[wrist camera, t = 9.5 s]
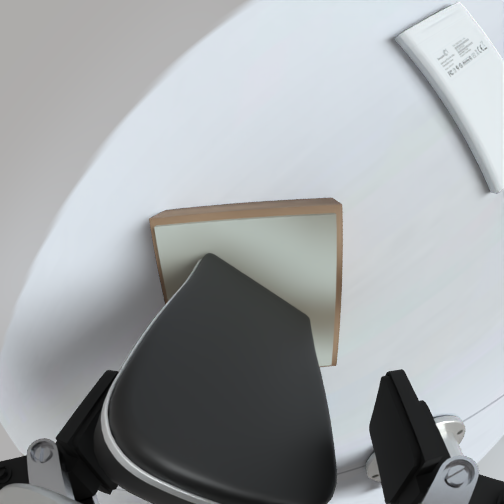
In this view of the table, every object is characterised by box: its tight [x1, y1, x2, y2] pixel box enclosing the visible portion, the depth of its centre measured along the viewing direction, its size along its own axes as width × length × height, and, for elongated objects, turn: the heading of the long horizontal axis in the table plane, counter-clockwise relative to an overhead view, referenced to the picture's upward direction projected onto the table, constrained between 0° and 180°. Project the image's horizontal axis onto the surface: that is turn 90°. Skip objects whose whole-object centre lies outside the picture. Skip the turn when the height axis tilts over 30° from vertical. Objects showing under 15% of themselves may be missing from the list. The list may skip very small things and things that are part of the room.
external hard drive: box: [395, 1, 504, 194], centre depth 13 cm, size 2×8×12 cm
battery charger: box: [94, 253, 337, 504], centre depth 10 cm, size 7×4×11 cm, turn 55°
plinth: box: [149, 198, 343, 367], centre depth 17 cm, size 10×10×3 cm
